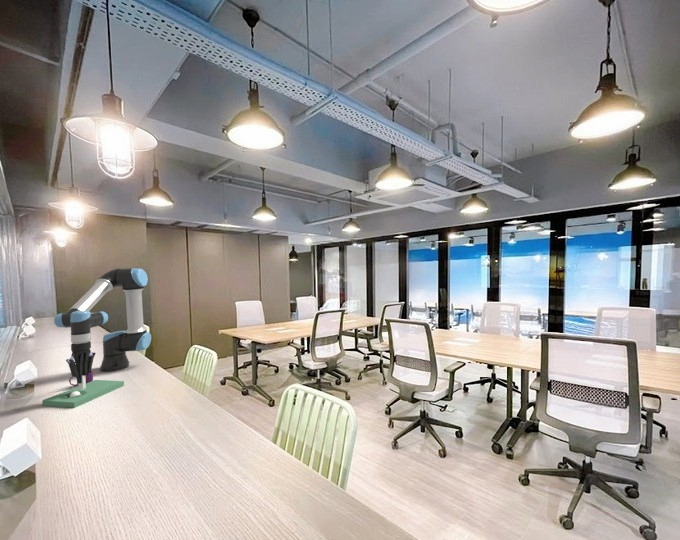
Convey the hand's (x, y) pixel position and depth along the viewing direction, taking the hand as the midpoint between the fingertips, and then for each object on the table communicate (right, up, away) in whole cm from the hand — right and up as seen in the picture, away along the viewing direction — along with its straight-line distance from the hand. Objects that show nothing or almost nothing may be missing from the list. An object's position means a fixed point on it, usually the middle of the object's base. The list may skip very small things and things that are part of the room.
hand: (82, 388), depth 149 cm
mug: (-13, -4, +14) cm, 20 cm away
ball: (0, -4, -3) cm, 5 cm away
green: (0, -4, +2) cm, 4 cm away
